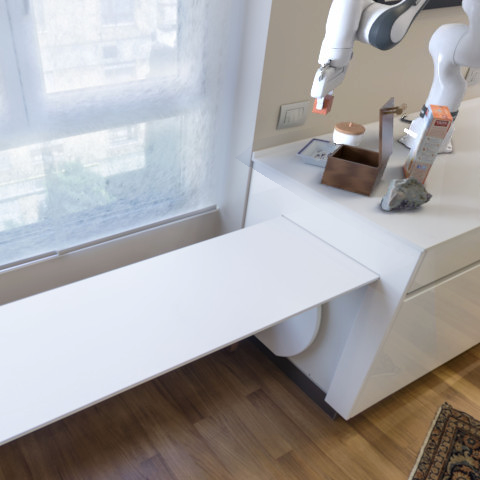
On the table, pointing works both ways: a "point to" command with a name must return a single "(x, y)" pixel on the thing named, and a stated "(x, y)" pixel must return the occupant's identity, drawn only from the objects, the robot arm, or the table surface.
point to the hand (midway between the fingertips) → (322, 106)
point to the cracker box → (428, 142)
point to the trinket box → (348, 133)
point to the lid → (387, 129)
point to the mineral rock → (405, 195)
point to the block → (327, 105)
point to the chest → (353, 169)
